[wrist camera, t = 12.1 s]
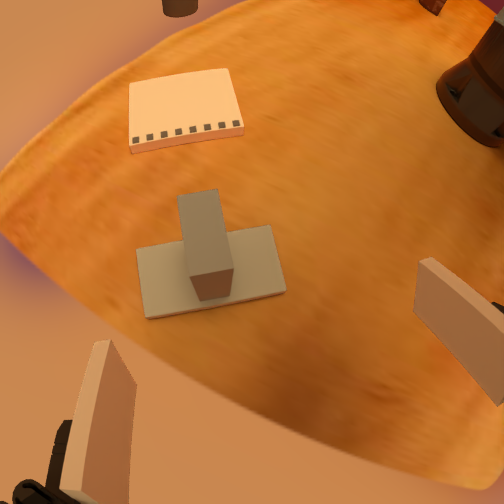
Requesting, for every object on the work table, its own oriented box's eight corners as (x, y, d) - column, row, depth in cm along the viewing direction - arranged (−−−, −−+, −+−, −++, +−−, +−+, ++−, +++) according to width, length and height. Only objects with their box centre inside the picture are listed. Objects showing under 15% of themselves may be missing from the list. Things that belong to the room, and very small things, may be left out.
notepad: (131, 91, 34) (129, 82, 32) (227, 76, 36) (227, 66, 34) (132, 153, 31) (128, 144, 30) (243, 135, 33) (244, 125, 31)
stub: (139, 253, 28) (102, 203, 18) (268, 230, 30) (290, 171, 20) (148, 319, 26) (109, 300, 17) (283, 293, 28) (317, 260, 18)
